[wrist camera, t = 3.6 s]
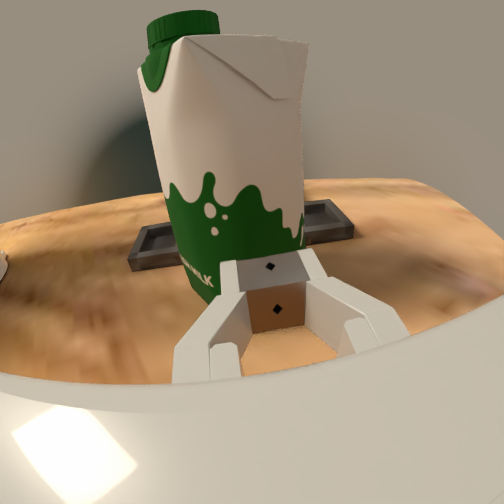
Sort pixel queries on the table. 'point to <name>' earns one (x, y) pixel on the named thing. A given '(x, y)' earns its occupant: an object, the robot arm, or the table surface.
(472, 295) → the table surface
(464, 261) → the table surface
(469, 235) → the table surface
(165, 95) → the soya milk
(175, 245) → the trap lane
